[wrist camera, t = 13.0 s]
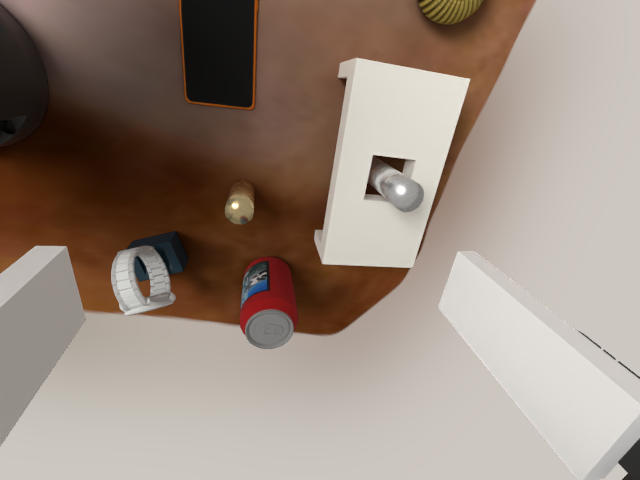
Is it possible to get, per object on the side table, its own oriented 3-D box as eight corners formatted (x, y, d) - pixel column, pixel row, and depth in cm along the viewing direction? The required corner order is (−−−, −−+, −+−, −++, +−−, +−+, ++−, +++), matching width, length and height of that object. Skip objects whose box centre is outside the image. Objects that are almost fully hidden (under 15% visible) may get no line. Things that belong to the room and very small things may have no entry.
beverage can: (249, 249, 44) (245, 302, 33) (296, 258, 45) (307, 311, 35) (239, 289, 46) (233, 350, 35) (284, 296, 48) (291, 356, 37)
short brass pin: (230, 202, 40) (224, 223, 34) (230, 179, 39) (225, 196, 33) (254, 204, 41) (253, 225, 35) (255, 181, 40) (254, 199, 33)
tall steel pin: (354, 176, 41) (390, 210, 30) (358, 153, 40) (398, 180, 29) (375, 178, 42) (418, 213, 31) (380, 155, 41) (427, 183, 29)
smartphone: (186, 102, 35) (184, 103, 34) (174, -101, 28) (171, -106, 27) (255, 110, 36) (255, 110, 36) (260, -81, 30) (260, -86, 29)
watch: (153, 280, 43) (122, 337, 33) (126, 228, 40) (82, 275, 30) (194, 271, 44) (175, 324, 34) (171, 218, 40) (142, 261, 30)
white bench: (313, 239, 44) (322, 264, 38) (340, 62, 35) (356, 57, 29) (392, 244, 47) (412, 267, 41) (436, 80, 38) (470, 79, 32)
